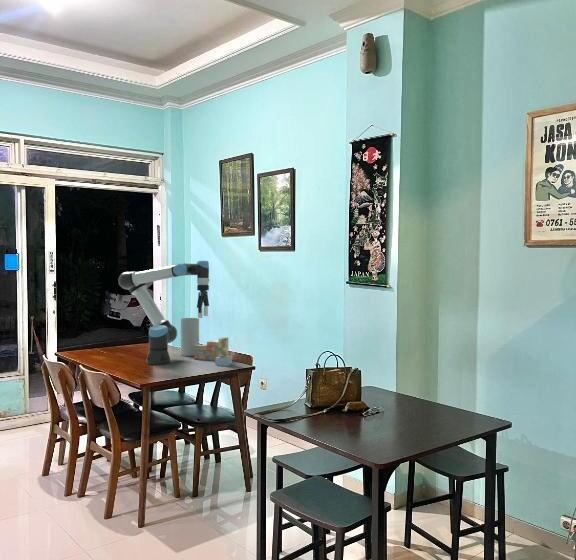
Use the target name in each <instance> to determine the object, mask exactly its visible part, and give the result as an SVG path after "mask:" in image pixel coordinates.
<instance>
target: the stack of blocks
mask: <svg viewBox="0 0 576 560" xmlns="http://www.w3.org/2000/svg"><path fill="white" fill-rule="evenodd" d="M194 350H195V356H194V360H201V359H202V360H204V361H215V358H216V357H219V340H208V341H207V342H206V344H202V343H201V344H200V343H199V344H198V345H195V346H194Z"/></svg>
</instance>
